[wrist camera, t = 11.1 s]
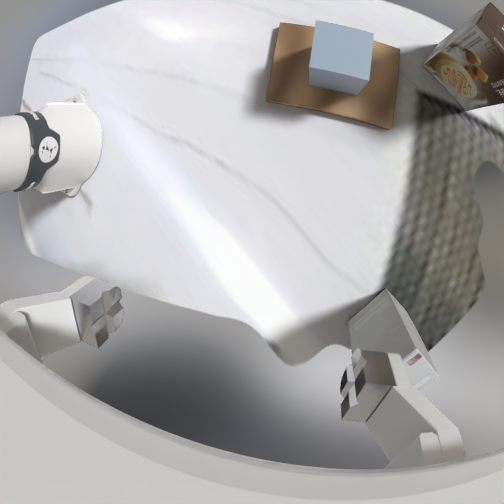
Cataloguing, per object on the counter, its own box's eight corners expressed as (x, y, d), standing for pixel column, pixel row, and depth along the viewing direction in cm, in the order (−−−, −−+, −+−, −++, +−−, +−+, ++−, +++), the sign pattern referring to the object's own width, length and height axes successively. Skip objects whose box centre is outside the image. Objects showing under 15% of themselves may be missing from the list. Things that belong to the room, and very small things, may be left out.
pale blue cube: (309, 85, 28) (309, 67, 22) (315, 45, 26) (315, 20, 19) (356, 95, 28) (369, 80, 21) (361, 55, 26) (373, 33, 19)
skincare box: (369, 342, 40) (384, 418, 26) (342, 317, 40) (352, 395, 25) (409, 310, 37) (443, 380, 22) (385, 281, 36) (417, 351, 22)
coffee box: (481, 87, 23) (547, 70, 8) (465, 112, 25) (536, 101, 10) (437, 41, 22) (491, 0, 7) (419, 65, 25) (475, 24, 10)
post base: (267, 102, 31) (258, 90, 25) (281, 26, 27) (274, 3, 21) (388, 129, 29) (405, 124, 23) (397, 52, 25) (413, 34, 19)
